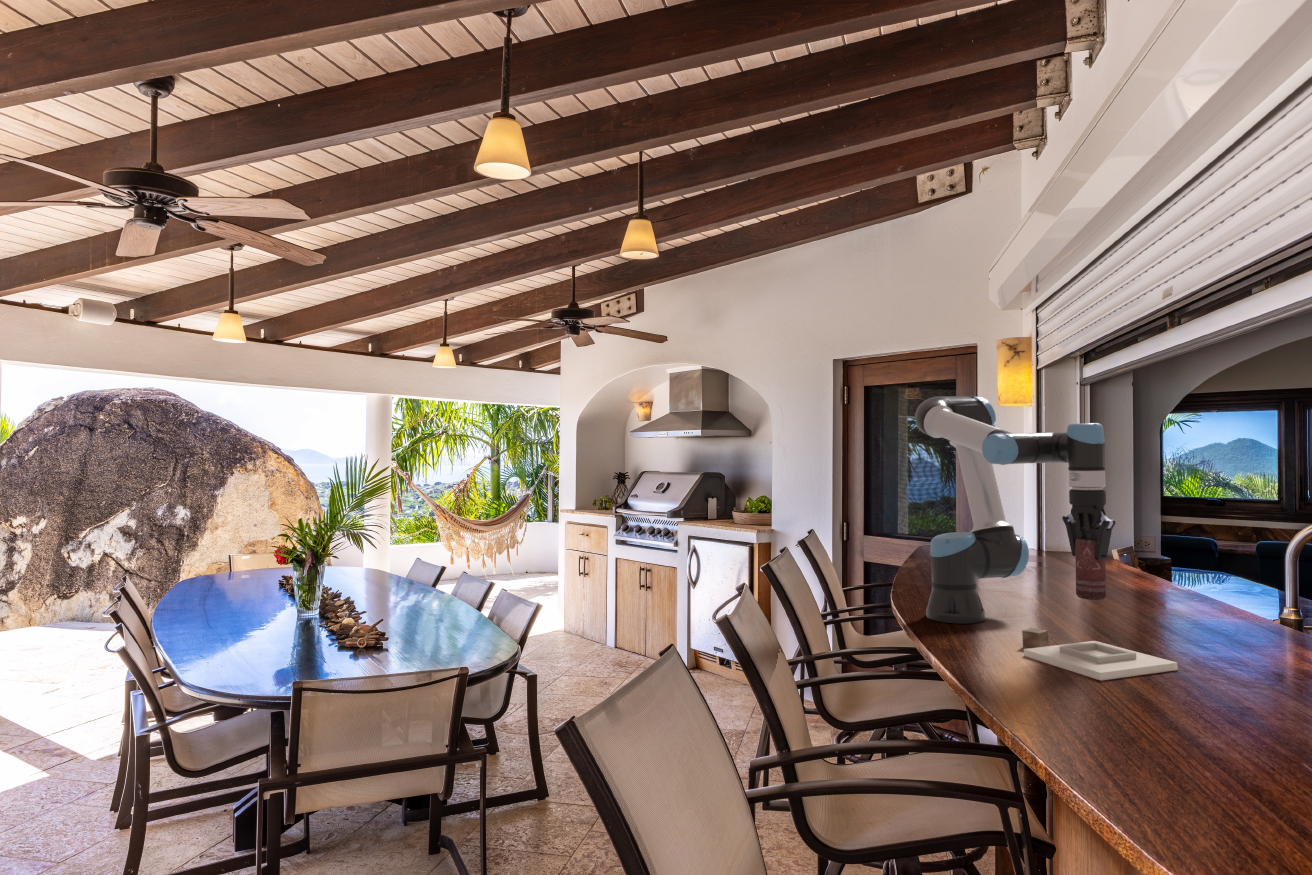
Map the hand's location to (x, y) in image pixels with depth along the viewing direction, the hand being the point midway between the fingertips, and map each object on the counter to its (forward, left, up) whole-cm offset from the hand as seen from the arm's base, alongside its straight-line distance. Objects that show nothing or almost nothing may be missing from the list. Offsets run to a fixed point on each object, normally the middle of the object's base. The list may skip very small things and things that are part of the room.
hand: (1089, 588), depth 174 cm
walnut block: (-2, -14, -13) cm, 19 cm away
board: (+13, -12, -13) cm, 22 cm away
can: (0, +1, -2) cm, 2 cm away
